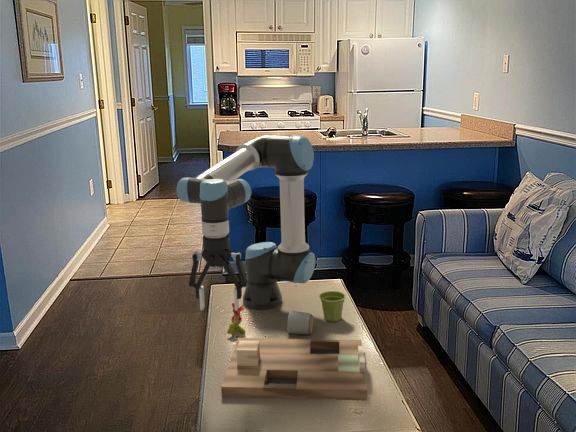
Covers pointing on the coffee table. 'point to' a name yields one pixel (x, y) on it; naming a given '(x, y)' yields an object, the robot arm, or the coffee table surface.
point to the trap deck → (300, 370)
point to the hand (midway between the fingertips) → (219, 308)
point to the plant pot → (332, 305)
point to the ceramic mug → (300, 323)
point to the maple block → (248, 353)
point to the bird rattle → (236, 321)
